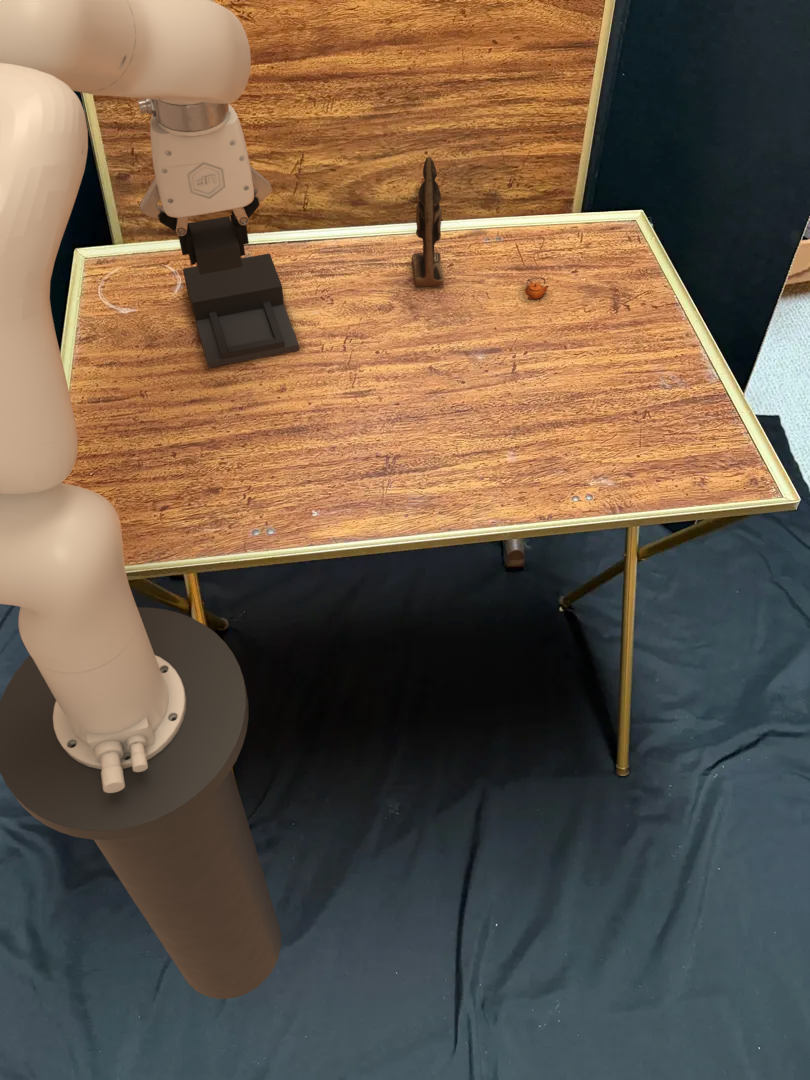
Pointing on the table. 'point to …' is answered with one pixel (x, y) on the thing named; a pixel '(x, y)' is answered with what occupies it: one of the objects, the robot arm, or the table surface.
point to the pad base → (240, 312)
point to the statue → (428, 229)
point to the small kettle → (534, 290)
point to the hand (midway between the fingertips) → (216, 251)
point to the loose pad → (215, 245)
